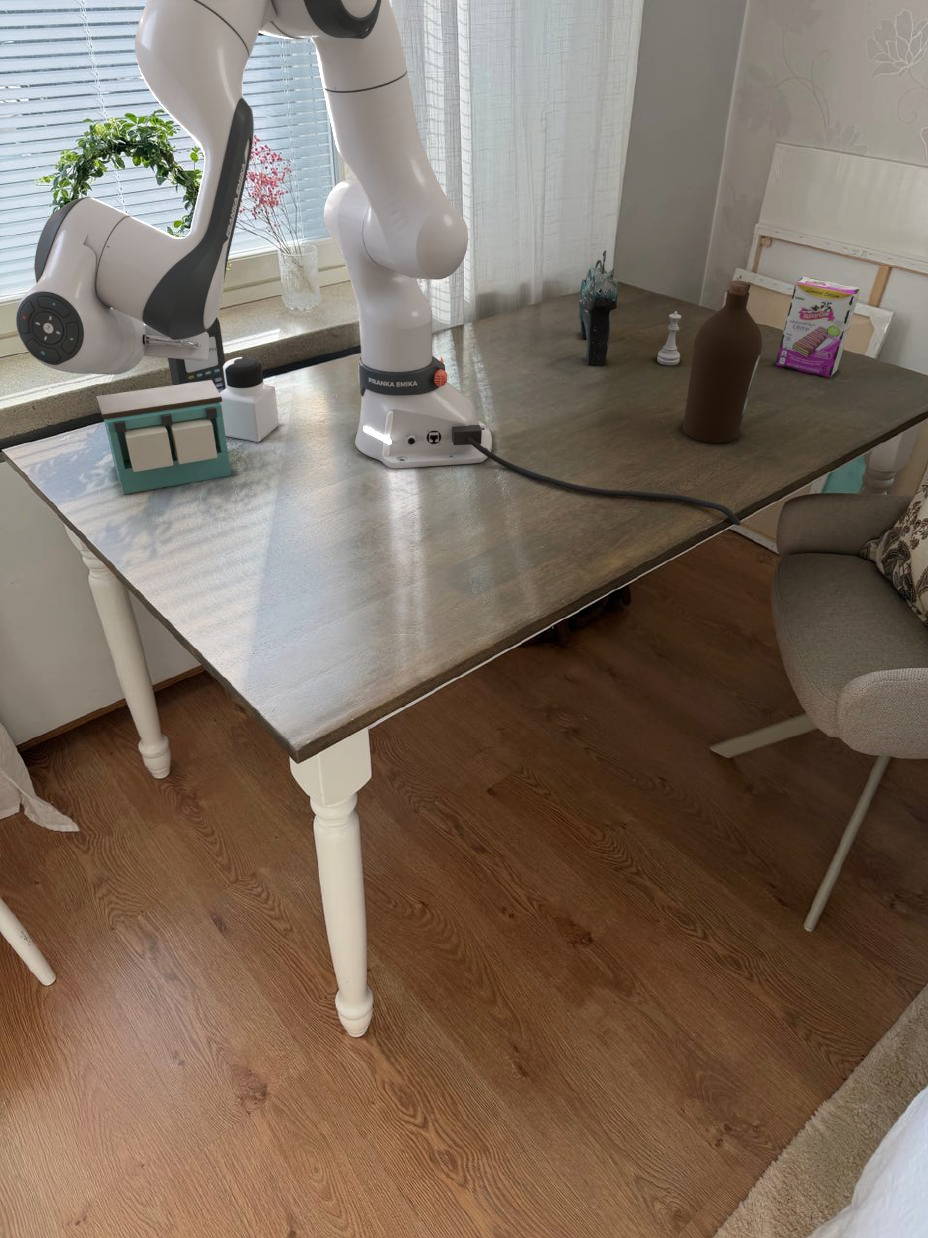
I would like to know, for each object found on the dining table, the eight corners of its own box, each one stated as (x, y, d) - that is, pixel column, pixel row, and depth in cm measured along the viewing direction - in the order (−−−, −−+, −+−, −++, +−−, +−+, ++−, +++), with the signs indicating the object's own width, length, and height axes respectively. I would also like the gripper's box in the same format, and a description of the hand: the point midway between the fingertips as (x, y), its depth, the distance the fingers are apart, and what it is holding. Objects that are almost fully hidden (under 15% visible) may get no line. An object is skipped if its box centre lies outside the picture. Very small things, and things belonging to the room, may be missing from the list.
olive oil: (686, 445, 153) (715, 293, 138) (673, 418, 161) (698, 272, 146) (749, 445, 153) (784, 294, 138) (732, 418, 162) (763, 273, 147)
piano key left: (173, 465, 134) (167, 431, 131) (134, 472, 132) (126, 437, 129) (169, 455, 137) (163, 421, 134) (130, 461, 135) (123, 427, 132)
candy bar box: (774, 366, 182) (794, 281, 172) (781, 358, 186) (801, 275, 176) (831, 379, 177) (855, 293, 168) (838, 371, 181) (861, 286, 171)
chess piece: (662, 355, 185) (670, 305, 179) (682, 360, 183) (691, 310, 177) (653, 362, 182) (660, 311, 176) (673, 367, 180) (681, 316, 174)
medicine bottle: (279, 425, 156) (272, 356, 148) (258, 443, 150) (250, 372, 143) (242, 418, 157) (233, 350, 150) (220, 435, 152) (210, 365, 145)
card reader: (185, 415, 158) (170, 329, 149) (174, 407, 160) (158, 322, 151) (232, 401, 163) (220, 317, 154) (221, 394, 165) (209, 311, 156)
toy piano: (235, 477, 141) (224, 401, 133) (121, 497, 135) (103, 419, 128) (221, 450, 148) (210, 376, 140) (112, 468, 142) (94, 393, 135)
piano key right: (217, 457, 136) (212, 424, 133) (179, 464, 134) (173, 430, 131) (212, 448, 139) (207, 414, 136) (174, 454, 137) (168, 420, 134)
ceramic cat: (611, 369, 179) (624, 263, 167) (578, 368, 179) (589, 262, 167) (600, 333, 195) (612, 234, 183) (570, 332, 195) (579, 233, 183)
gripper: (194, 316, 108) (222, 323, 121) (17, 299, 107) (65, 308, 120) (193, 371, 109) (221, 372, 123) (19, 355, 109) (66, 358, 122)
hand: (143, 340), depth 122 cm, fingers closed
